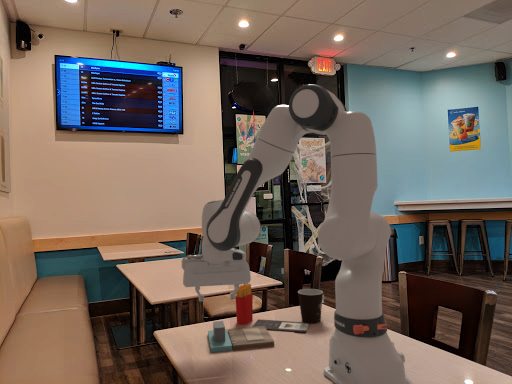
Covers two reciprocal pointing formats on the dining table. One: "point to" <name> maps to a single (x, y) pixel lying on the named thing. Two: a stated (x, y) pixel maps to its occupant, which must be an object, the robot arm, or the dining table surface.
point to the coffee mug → (310, 305)
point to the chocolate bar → (283, 325)
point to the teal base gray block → (219, 338)
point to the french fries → (244, 304)
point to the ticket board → (250, 338)
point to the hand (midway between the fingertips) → (217, 299)
